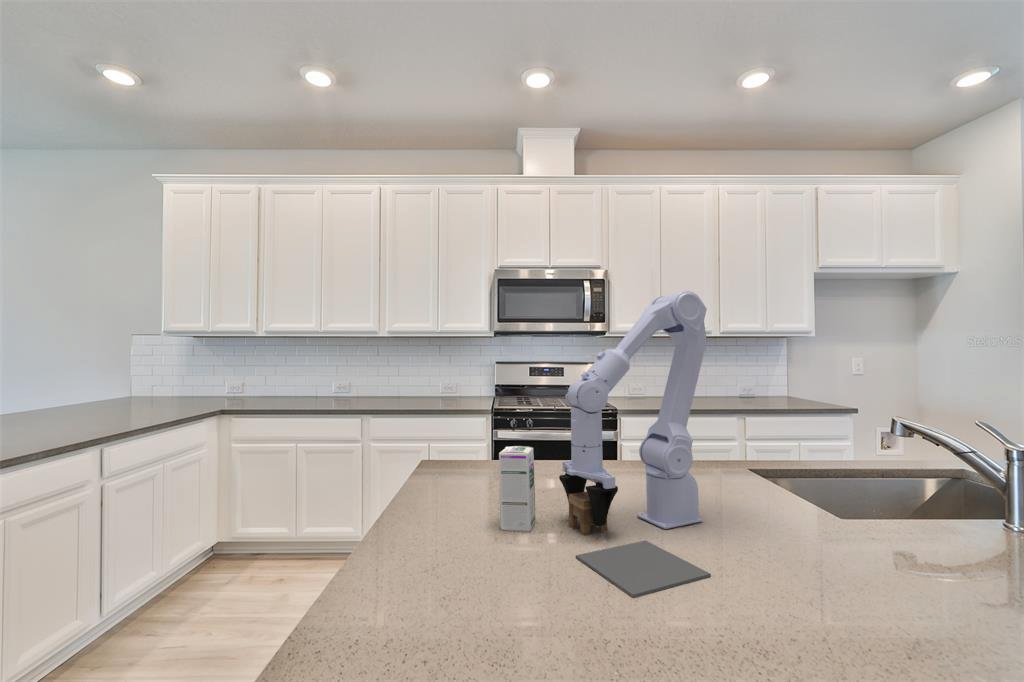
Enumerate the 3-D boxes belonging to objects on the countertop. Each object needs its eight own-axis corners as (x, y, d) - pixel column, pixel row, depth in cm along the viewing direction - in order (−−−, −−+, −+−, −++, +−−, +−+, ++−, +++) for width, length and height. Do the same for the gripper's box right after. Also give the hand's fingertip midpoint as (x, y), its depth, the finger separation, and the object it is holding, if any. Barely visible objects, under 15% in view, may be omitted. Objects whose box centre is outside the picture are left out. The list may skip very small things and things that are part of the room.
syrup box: (530, 532, 87) (530, 452, 88) (499, 530, 89) (498, 451, 89) (535, 521, 93) (534, 446, 93) (505, 519, 94) (505, 445, 95)
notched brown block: (591, 522, 92) (591, 490, 93) (607, 530, 88) (606, 497, 88) (569, 526, 90) (568, 494, 90) (584, 535, 86) (583, 501, 86)
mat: (645, 542, 82) (645, 540, 82) (710, 576, 69) (710, 573, 69) (575, 557, 76) (575, 555, 76) (632, 597, 64) (632, 594, 64)
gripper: (548, 440, 94) (549, 510, 94) (590, 453, 81) (591, 535, 81) (579, 437, 97) (580, 505, 97) (624, 449, 84) (625, 528, 84)
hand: (587, 518), depth 89 cm, fingers open, 7 cm apart
